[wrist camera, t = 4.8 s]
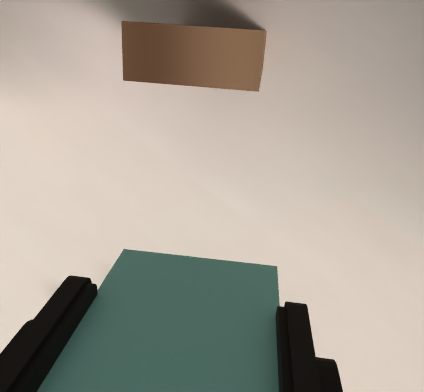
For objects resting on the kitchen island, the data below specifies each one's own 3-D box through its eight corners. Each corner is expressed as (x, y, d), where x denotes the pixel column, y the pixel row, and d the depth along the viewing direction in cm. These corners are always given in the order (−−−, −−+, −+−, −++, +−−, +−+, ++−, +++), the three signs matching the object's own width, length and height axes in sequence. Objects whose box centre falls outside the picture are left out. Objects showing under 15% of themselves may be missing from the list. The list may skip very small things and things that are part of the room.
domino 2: (266, 31, 22) (265, 30, 13) (262, 67, 23) (258, 91, 14) (180, 25, 23) (121, 21, 13) (180, 61, 23) (123, 80, 14)
